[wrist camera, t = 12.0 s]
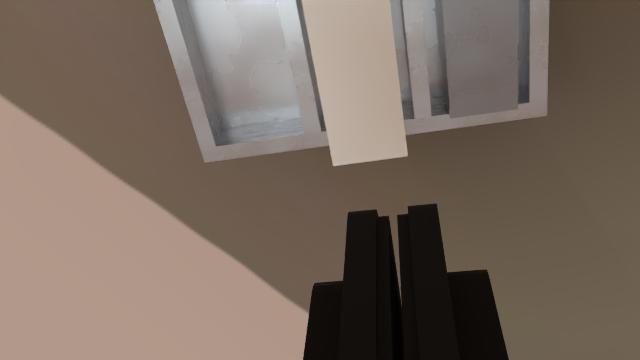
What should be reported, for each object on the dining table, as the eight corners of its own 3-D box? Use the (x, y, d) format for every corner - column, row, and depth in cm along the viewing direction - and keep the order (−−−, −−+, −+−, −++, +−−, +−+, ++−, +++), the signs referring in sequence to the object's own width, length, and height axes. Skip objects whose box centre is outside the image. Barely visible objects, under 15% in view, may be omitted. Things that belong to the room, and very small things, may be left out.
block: (375, -85, 26) (383, -55, 20) (395, 87, 30) (407, 156, 24) (306, -72, 26) (294, -39, 20) (336, 96, 30) (333, 166, 24)
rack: (534, -155, 24) (560, -151, 21) (532, 99, 30) (553, 131, 27) (149, -81, 27) (123, -67, 23) (216, 143, 32) (202, 177, 29)
